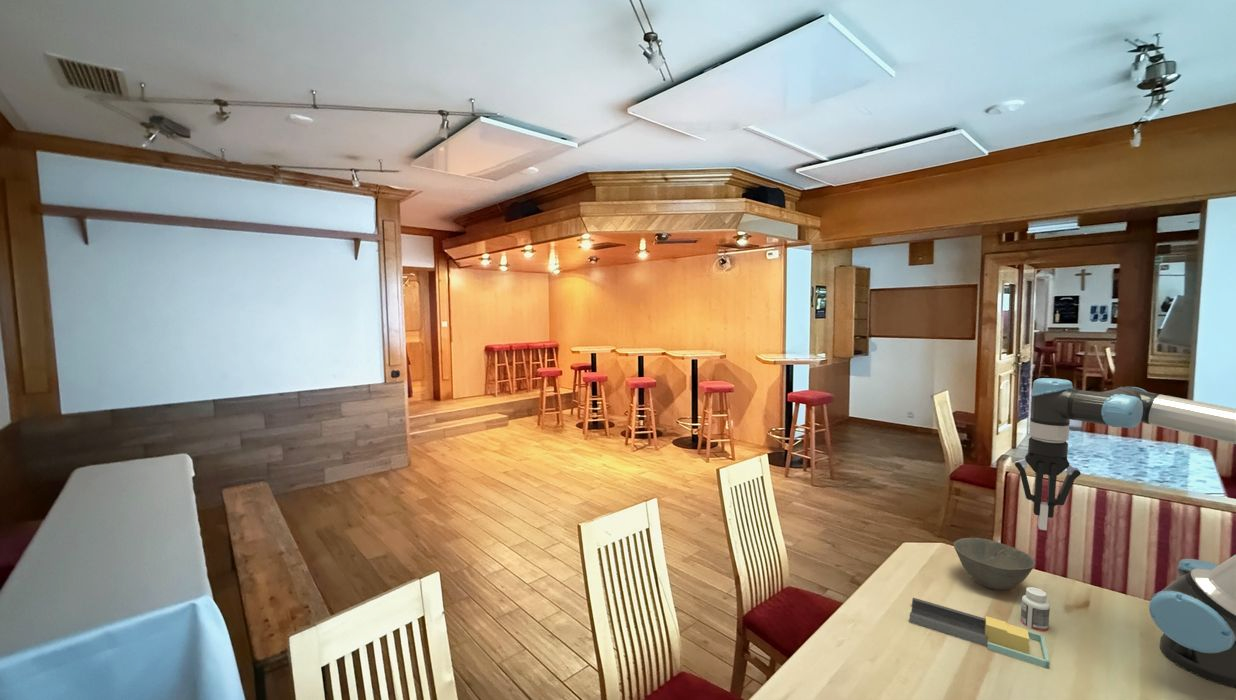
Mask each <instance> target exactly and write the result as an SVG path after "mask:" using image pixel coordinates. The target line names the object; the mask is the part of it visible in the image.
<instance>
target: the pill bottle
mask: <svg viewBox="0 0 1236 700" xmlns="http://www.w3.org/2000/svg"><path fill="white" fill-rule="evenodd" d="M1047 597H1048V596H1047V593H1046V592H1045V591H1044V590H1042V589H1040V588H1037V587H1031V586H1030V587H1029V586H1028V587H1026V589H1025V595H1022V598H1021V607H1020V622H1021V624H1023V625H1024V626H1025V627H1027V628H1029V629H1032V630H1034V631H1039V632H1047V631H1048V630H1049V625H1050V624H1049V621H1050V611H1051V610H1050V609H1051V608H1050V607H1051V605H1050V604H1049V602H1048V601H1047V599H1048V598H1047Z"/></svg>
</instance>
